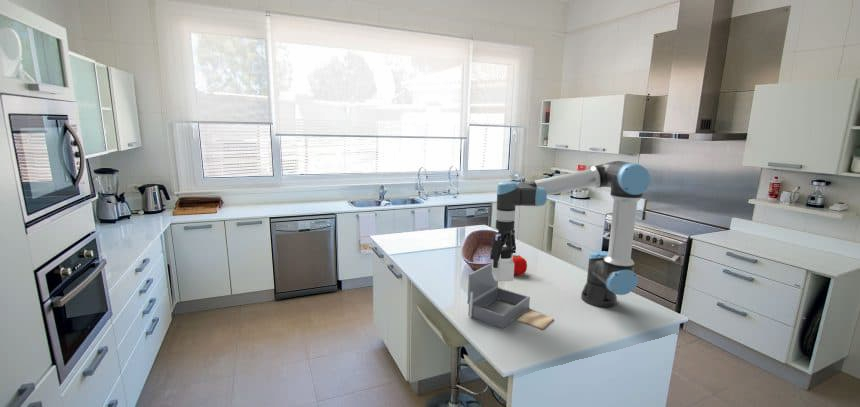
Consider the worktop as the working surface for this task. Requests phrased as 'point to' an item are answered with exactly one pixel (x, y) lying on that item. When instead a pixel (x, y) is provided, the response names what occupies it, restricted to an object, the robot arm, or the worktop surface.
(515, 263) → the tomato
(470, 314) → the case
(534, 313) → the mat
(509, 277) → the container
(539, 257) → the worktop surface
